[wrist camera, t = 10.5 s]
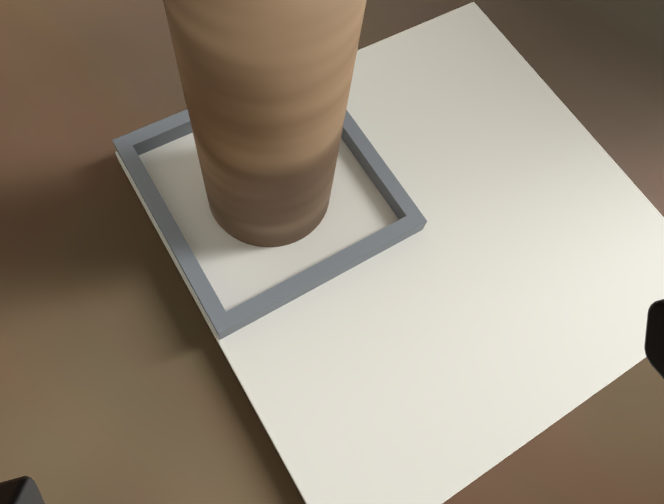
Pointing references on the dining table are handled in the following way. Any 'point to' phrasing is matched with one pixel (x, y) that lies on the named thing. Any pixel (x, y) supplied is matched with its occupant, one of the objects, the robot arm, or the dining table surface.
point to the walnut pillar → (266, 106)
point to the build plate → (422, 271)
